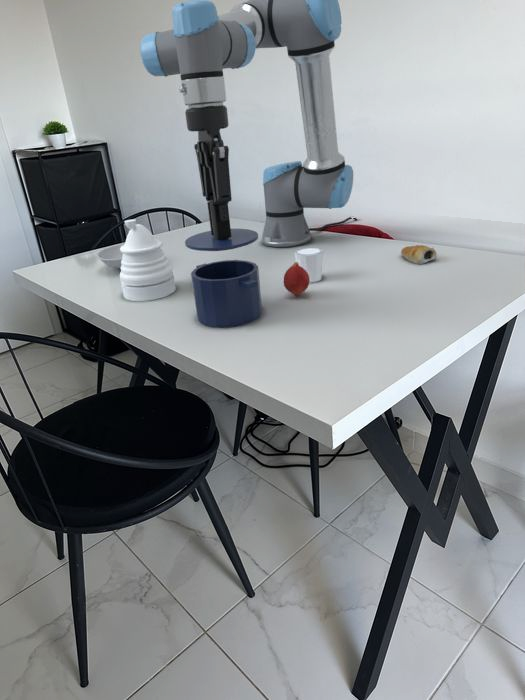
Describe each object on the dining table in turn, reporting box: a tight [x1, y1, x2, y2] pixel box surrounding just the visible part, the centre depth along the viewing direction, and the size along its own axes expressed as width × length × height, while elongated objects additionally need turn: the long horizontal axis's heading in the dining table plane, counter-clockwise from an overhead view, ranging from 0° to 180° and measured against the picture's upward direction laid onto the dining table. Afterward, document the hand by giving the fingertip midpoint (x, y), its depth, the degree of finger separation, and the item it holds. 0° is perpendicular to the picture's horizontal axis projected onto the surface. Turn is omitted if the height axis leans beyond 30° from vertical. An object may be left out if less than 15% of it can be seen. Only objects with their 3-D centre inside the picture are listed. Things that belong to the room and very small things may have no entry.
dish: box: [95, 243, 125, 269], centre depth 147 cm, size 18×14×5 cm
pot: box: [190, 259, 263, 329], centre depth 107 cm, size 14×19×10 cm
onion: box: [283, 261, 310, 297], centre depth 114 cm, size 6×6×8 cm
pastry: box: [400, 244, 437, 265], centre depth 133 cm, size 9×7×4 cm
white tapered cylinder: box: [294, 247, 324, 283], centre depth 124 cm, size 7×7×7 cm
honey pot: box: [119, 219, 177, 302], centre depth 123 cm, size 13×13×18 cm
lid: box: [184, 198, 259, 252], centre depth 100 cm, size 15×15×9 cm
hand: (221, 235), depth 102 cm, fingers closed on lid, 3 cm apart
